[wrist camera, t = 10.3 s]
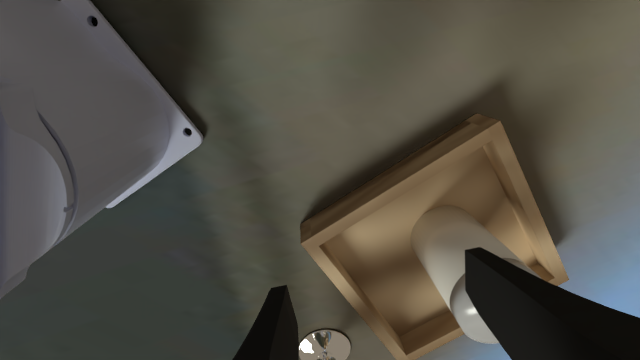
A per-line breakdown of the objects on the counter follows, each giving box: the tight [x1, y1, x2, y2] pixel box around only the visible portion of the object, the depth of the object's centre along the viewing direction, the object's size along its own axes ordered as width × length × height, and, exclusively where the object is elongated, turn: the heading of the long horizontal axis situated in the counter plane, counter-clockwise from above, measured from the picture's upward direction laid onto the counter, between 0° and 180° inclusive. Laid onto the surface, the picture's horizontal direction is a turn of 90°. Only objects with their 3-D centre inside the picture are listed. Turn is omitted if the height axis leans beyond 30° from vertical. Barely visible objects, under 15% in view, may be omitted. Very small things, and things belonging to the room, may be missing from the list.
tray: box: [300, 113, 569, 360], centre depth 22 cm, size 14×14×2 cm
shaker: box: [411, 205, 542, 343], centre depth 19 cm, size 5×5×7 cm
